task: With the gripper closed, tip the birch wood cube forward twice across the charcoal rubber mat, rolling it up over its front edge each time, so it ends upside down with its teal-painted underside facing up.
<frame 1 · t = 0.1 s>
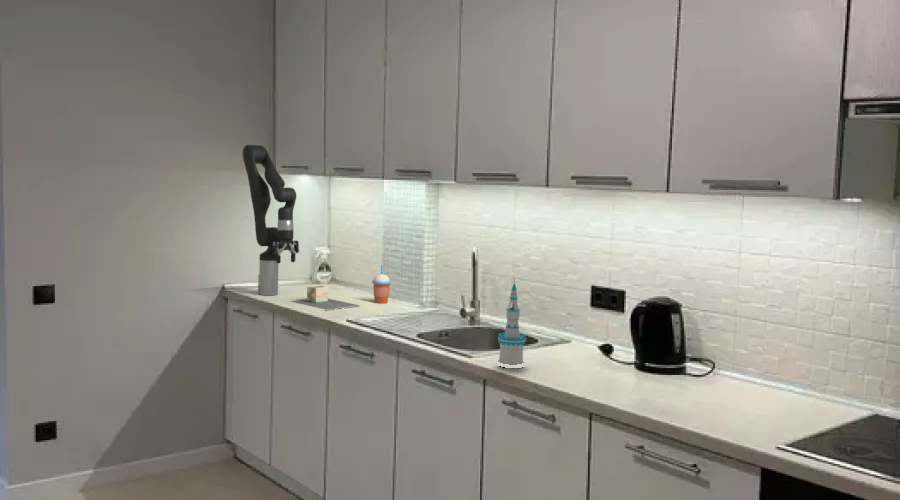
hand: (285, 262, 416), 17 cm above the worktop, tool pointing down, fingers open, 8 cm apart
model tower: (510, 366, 294), on the worktop
cup with straw: (381, 302, 415), on the worktop
rubber mat: (324, 304, 403), on the worktop
birch cube: (317, 301, 407), point 1 cm above the worktop, touching rubber mat
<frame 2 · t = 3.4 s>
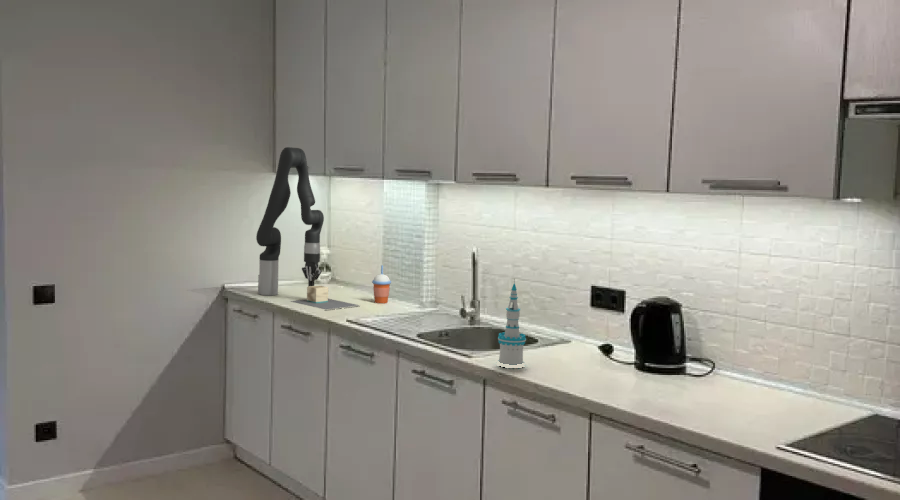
hand: (311, 288, 410), 6 cm above the worktop, tool pointing down, fingers closed
birch cube: (317, 301, 407), point 1 cm above the worktop, touching gripper, rubber mat
everything else where it was.
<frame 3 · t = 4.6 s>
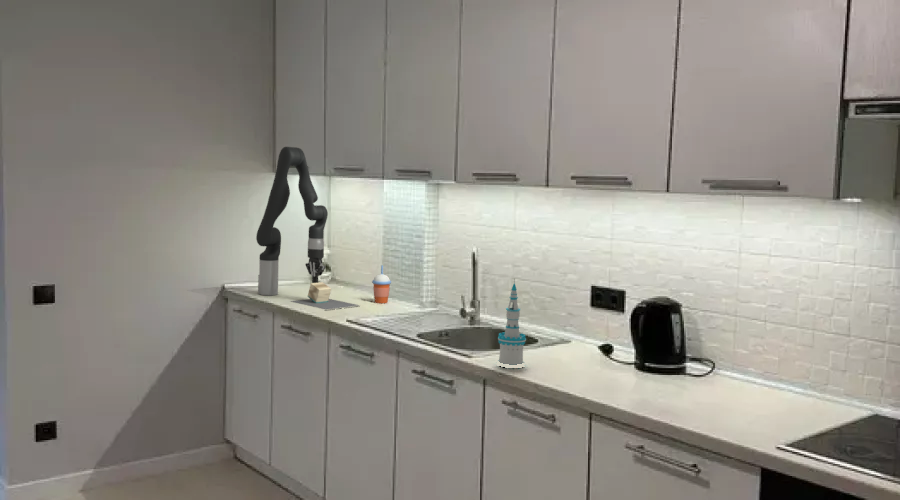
hand: (315, 284, 408), 9 cm above the worktop, tool pointing down, fingers closed
birch cube: (317, 299, 407), point 2 cm above the worktop, tilted 19°, touching gripper, rubber mat
everything else where it was.
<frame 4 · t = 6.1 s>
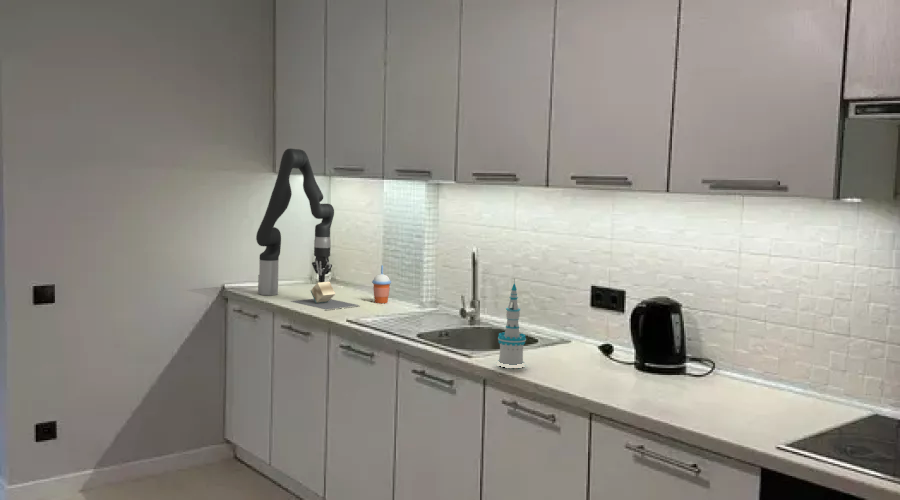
hand: (321, 283, 404), 10 cm above the worktop, tool pointing down, fingers closed
birch cube: (319, 296, 406), point 3 cm above the worktop, tilted 50°, touching gripper, rubber mat
everything else where it was.
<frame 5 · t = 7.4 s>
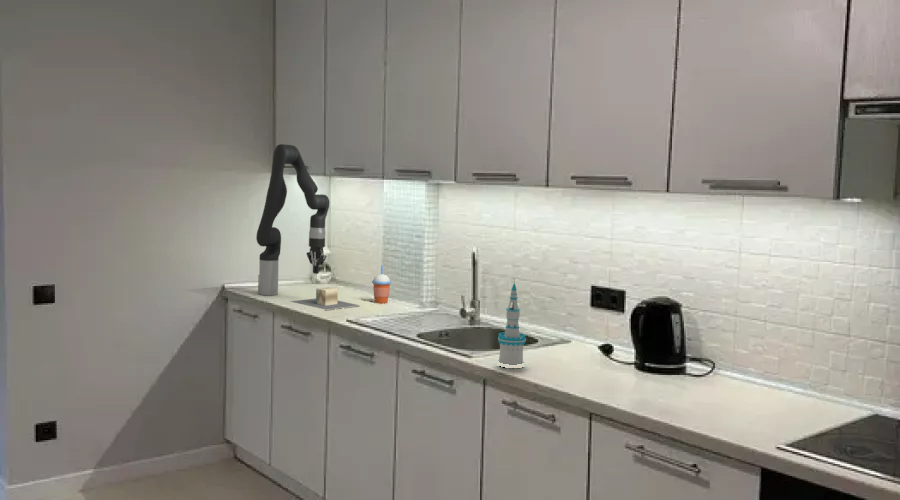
hand: (315, 273, 406), 14 cm above the worktop, tool pointing down, fingers closed
birch cube: (322, 295, 404), point 4 cm above the worktop, tilted 90°, touching rubber mat
everything else where it was.
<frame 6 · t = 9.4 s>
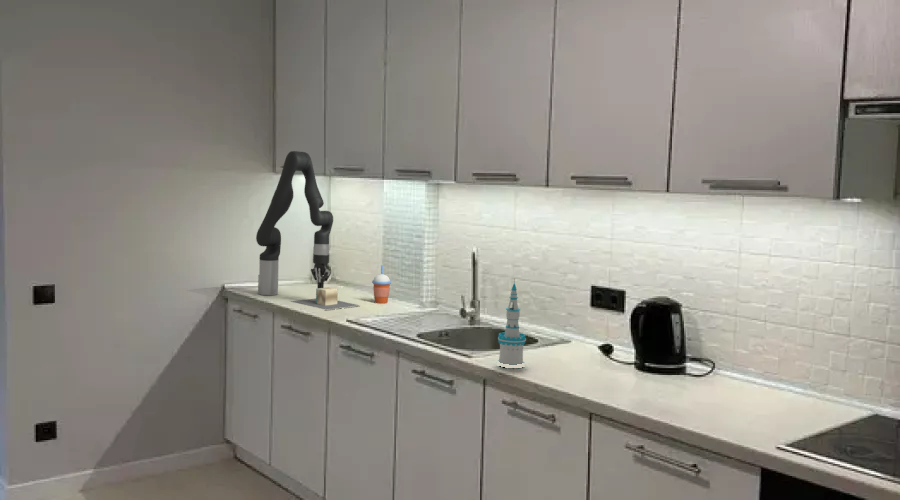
hand: (320, 289, 405), 6 cm above the worktop, tool pointing down, fingers closed
birch cube: (322, 295, 404), point 4 cm above the worktop, tilted 90°, touching gripper, rubber mat
everything else where it was.
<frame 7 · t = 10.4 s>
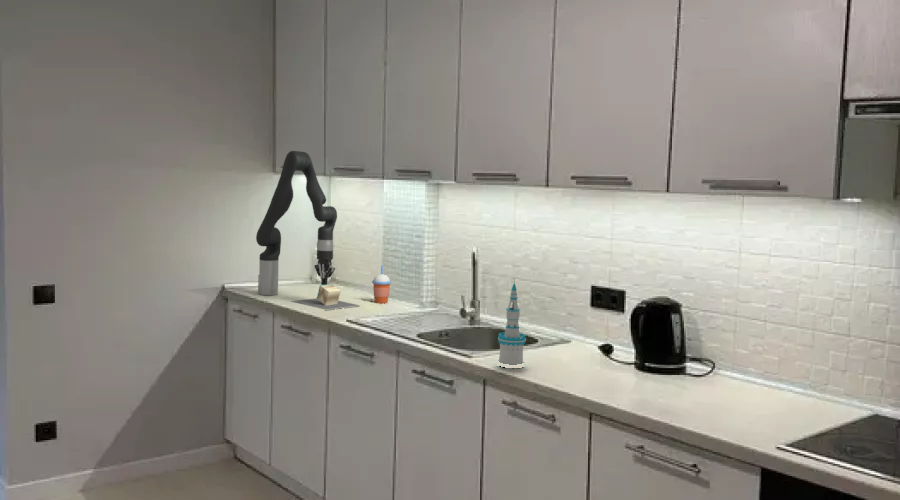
hand: (324, 286, 403), 9 cm above the worktop, tool pointing down, fingers closed
birch cube: (324, 291, 403), point 6 cm above the worktop, tilted 109°, touching gripper, rubber mat
everything else where it was.
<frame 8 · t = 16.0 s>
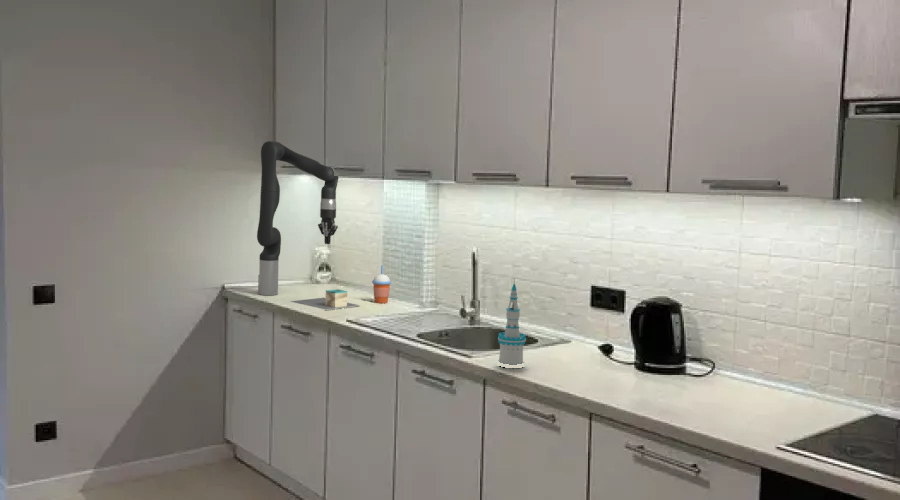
hand: (327, 244, 416), 27 cm above the worktop, tool pointing down, fingers closed
birch cube: (336, 290, 397), point 8 cm above the worktop, tilted 180°, touching rubber mat
everything else where it was.
at the end: birch cube tilted 180°; birch cube inside the target area (0.5 cm from its centre), point 7.6 cm above the worktop; birch cube touching rubber mat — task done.
